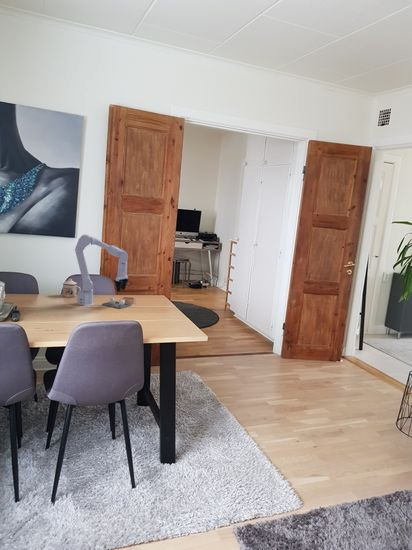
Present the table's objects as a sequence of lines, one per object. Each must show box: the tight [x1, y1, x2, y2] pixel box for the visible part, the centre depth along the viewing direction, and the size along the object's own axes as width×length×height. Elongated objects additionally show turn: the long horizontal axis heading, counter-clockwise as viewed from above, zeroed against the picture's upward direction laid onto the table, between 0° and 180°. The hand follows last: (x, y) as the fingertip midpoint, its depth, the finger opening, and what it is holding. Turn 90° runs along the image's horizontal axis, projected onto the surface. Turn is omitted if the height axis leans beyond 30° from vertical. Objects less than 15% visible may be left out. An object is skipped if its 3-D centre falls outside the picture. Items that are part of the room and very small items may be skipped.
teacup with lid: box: [62, 278, 82, 298], centre depth 286 cm, size 12×9×12 cm
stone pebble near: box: [109, 297, 116, 305], centre depth 272 cm, size 4×4×4 cm
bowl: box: [119, 296, 137, 305], centre depth 283 cm, size 10×10×3 cm
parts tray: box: [101, 300, 132, 310], centre depth 271 cm, size 12×14×2 cm
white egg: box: [118, 299, 125, 307], centre depth 270 cm, size 4×4×4 cm
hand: (120, 290), depth 273 cm, fingers open, 7 cm apart
